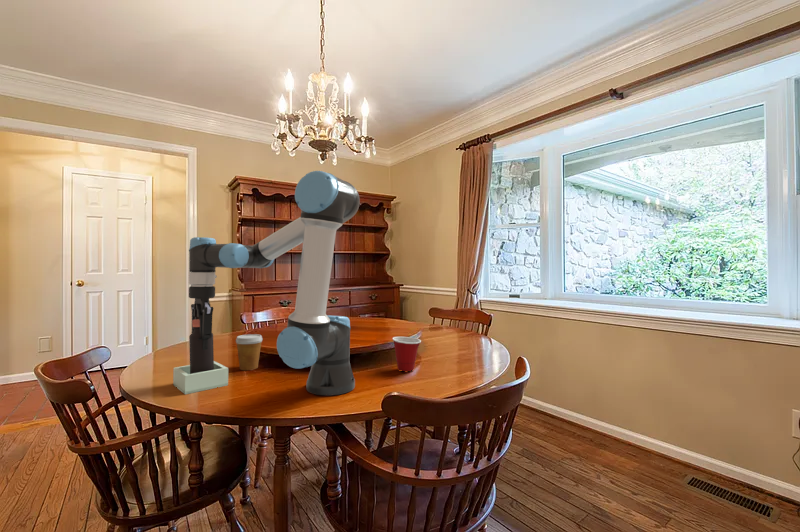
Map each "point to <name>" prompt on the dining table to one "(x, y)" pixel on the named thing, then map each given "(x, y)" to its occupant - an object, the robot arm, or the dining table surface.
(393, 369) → the dining table surface
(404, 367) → the plastic cup
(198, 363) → the vinegar
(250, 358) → the disposable coffee cup
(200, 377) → the open rectangular box
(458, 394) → the dining table surface
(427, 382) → the dining table surface
